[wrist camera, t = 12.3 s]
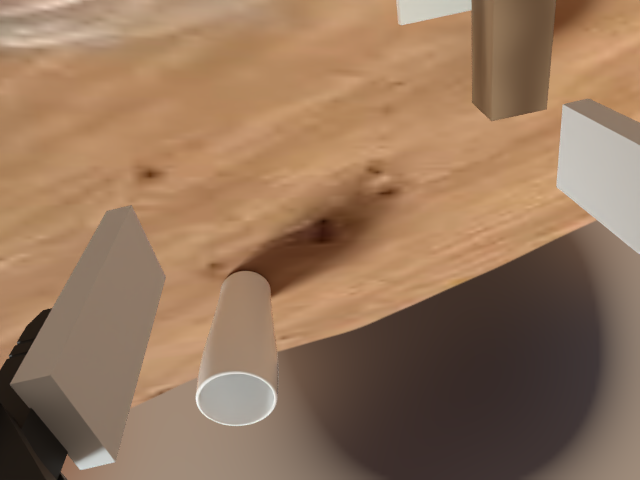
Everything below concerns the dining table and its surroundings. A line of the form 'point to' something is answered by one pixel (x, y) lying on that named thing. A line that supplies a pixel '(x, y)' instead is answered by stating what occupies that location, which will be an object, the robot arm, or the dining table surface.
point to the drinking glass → (240, 354)
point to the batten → (511, 56)
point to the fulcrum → (429, 9)
